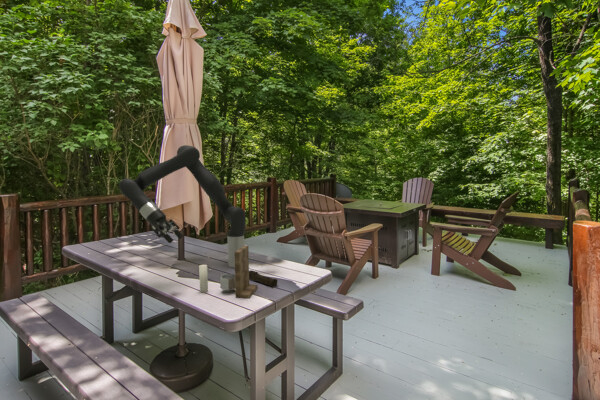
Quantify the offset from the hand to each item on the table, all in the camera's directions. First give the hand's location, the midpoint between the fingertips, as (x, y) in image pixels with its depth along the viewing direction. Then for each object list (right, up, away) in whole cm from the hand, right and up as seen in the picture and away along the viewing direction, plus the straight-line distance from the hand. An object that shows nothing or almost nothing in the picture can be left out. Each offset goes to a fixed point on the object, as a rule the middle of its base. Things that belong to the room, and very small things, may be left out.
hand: (176, 239), depth 153 cm
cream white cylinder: (+12, -23, 0) cm, 26 cm away
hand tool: (+36, -23, +12) cm, 44 cm away
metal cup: (+24, -21, 0) cm, 33 cm away
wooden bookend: (+32, -24, -1) cm, 40 cm away
